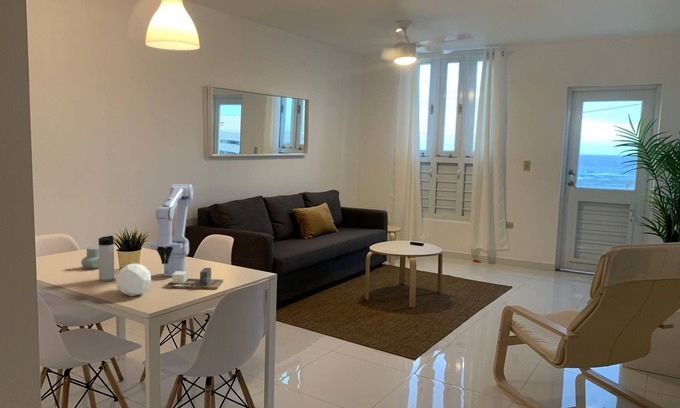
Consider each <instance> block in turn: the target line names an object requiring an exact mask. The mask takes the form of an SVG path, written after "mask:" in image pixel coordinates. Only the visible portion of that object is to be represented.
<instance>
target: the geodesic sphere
mask: <svg viewBox="0 0 680 408" xmlns="http://www.w3.org/2000/svg"><path fill="white" fill-rule="evenodd" d="M120 267H121V269H119V270H118V273H117V275H116V276H115V279H116V287H117V288H118V289H119V291H121V293H122V294H123V295H126V296H129V297H134V296H139V295H142V294H143V293H145V292H146V291H147V290H148V289H149V287H150V285H151V283H152V277H151V276H152V275H151V271H150V270H149V269H148V268H147V267H146V266H145V265H142V264H140V263H138V262H133V261H132V263H130V264H129V263H128V264H122V265H120Z"/></svg>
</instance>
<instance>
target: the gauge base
mask: <svg viewBox="0 0 680 408" xmlns="http://www.w3.org/2000/svg"><path fill="white" fill-rule="evenodd" d="M223 282H224V279H219V278H218V279H217V278H214V279H213V278H212V268H211V267H203V268H202V269H201V270H200V272H199V278H187V281H186V282H185V283H172V281H170V282H168V283H167V285H166V286H165V287H166V288H165V289H181V290H182V289H184V290H185V289H186V290H215V289H217V290H218V289H219V288H220V287H221V285H222V284H223ZM218 287H219V288H218Z"/></svg>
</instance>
